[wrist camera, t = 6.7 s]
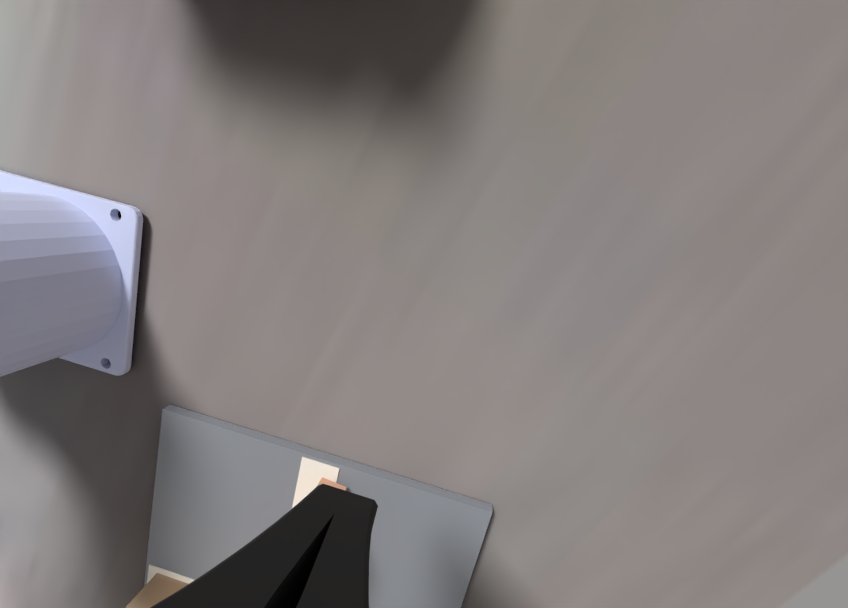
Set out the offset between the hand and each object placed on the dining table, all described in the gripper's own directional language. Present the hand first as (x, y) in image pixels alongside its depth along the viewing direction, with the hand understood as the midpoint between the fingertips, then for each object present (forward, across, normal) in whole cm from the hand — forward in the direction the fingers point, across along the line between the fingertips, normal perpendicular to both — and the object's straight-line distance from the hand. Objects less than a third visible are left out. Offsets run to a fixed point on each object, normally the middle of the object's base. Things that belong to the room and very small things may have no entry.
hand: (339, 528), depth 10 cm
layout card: (+9, +3, +12) cm, 16 cm away
